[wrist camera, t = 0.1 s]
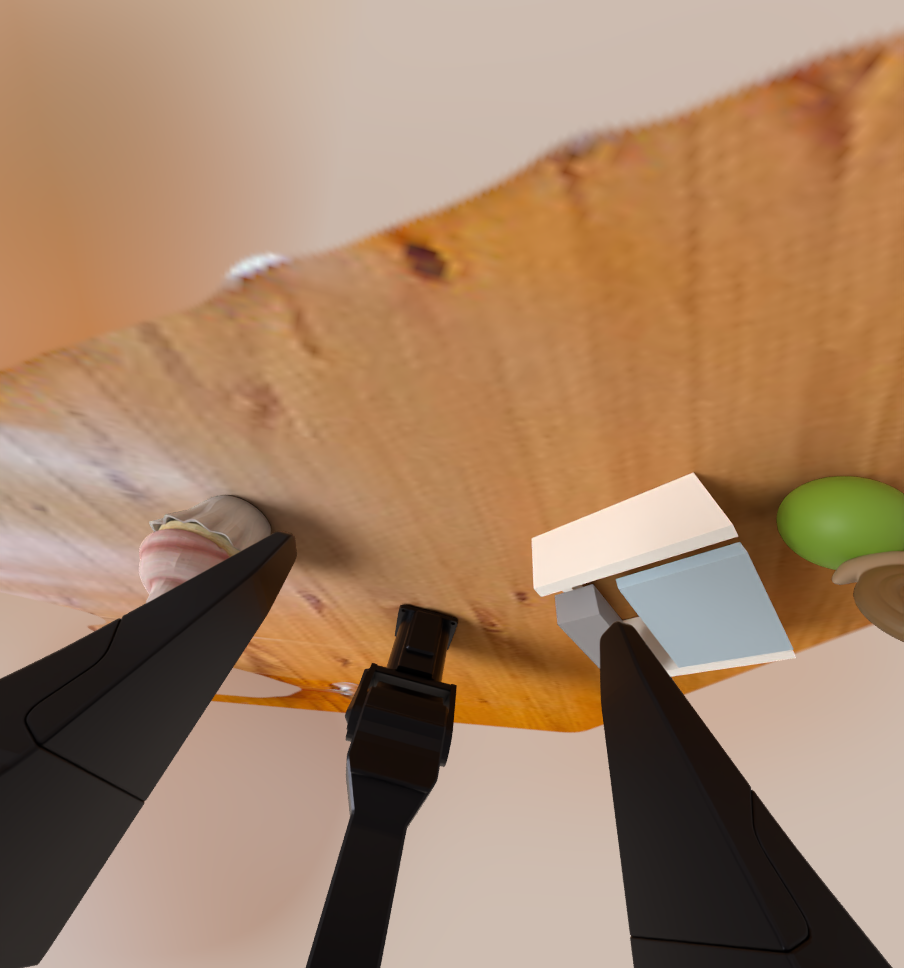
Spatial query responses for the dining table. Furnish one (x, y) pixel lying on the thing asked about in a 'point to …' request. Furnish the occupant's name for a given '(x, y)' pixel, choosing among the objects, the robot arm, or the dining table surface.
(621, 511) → the frame
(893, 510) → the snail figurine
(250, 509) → the cupcake
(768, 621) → the trapdoor
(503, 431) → the dining table surface
